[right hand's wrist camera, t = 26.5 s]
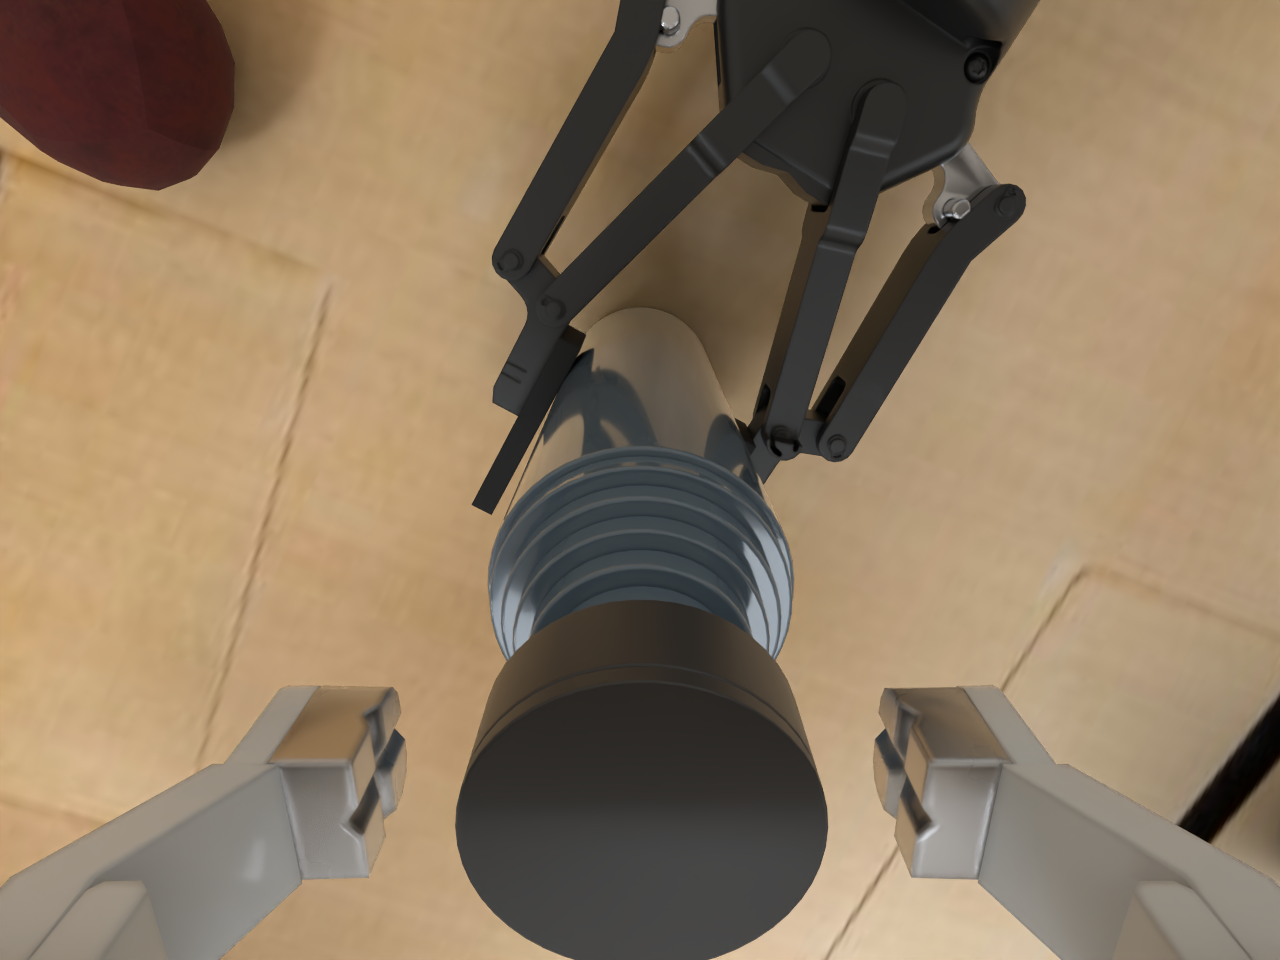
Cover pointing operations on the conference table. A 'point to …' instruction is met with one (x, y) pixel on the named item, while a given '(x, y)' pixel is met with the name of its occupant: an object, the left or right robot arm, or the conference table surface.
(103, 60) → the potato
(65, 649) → the conference table surface
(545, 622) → the bottle
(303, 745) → the right robot arm
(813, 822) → the cap
